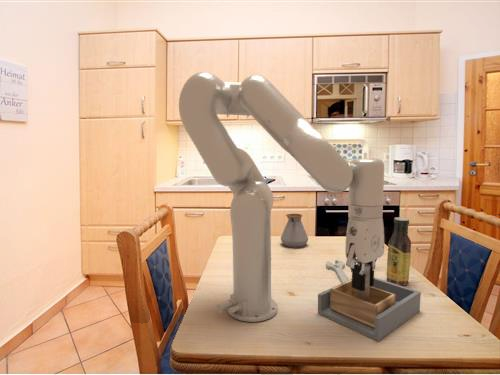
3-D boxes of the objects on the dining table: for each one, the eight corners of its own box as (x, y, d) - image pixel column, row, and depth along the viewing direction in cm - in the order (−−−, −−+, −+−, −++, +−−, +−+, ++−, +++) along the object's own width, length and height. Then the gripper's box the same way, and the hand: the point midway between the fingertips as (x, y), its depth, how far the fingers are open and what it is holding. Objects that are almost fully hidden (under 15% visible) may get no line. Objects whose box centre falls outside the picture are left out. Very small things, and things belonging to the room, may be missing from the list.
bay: (378, 341, 71) (379, 319, 70) (317, 313, 83) (318, 294, 82) (419, 311, 84) (420, 291, 83) (362, 290, 96) (362, 273, 95)
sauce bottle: (382, 278, 104) (385, 216, 102) (401, 278, 104) (404, 215, 102) (392, 287, 98) (395, 220, 95) (413, 286, 98) (417, 220, 96)
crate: (375, 328, 74) (377, 276, 72) (330, 308, 83) (331, 262, 81) (395, 314, 79) (397, 267, 78) (350, 297, 88) (352, 254, 87)
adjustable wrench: (357, 296, 93) (357, 290, 93) (333, 295, 94) (333, 289, 94) (343, 264, 118) (343, 259, 118) (324, 264, 119) (324, 259, 118)
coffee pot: (282, 240, 147) (282, 207, 146) (308, 241, 145) (309, 207, 143) (276, 256, 127) (276, 217, 125) (306, 257, 124) (307, 218, 123)
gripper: (360, 219, 70) (357, 302, 72) (397, 209, 81) (394, 282, 83) (330, 213, 76) (329, 291, 78) (368, 205, 86) (366, 273, 88)
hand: (362, 286), depth 80 cm, fingers closed on crate, 3 cm apart
